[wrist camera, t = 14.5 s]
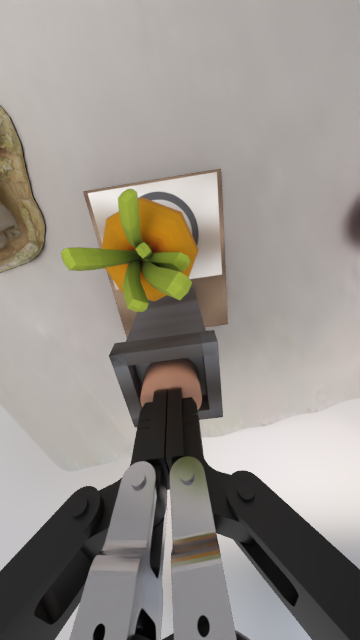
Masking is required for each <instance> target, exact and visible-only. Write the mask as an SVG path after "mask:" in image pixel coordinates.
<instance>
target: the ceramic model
mask: <svg viewBox="0 0 360 640" xmlns="http://www.w3.org/2000/svg"><path fill="white" fill-rule="evenodd" d="M30 188H31V187H30V183H29V180H28V176H27V173H26V168H25V163H24V159H23V152H22V148H21V144H20V141H19V138H18V136H17V134H16V132H15V129H14V127H13V125H12V122H11V120H10V118H9V116H8V115H7V114H6V113H5V111H4V110H3V108H1V107H0V273H1V272H3V271H6V270H8V269H10V268H14V267H17V266H20V265H23V264H26V263H29V262H30V261H31V260H32V259H33V258H35V257H36V256H37V255H38V254H39V253H40V251H41V249H42V247H43V243H44V234H45V225H44V220H43V217H42V214H41V212H40V210H39V208H38V206H37V204H36V203H35V201H34V199H33V196H32V193H31V189H30Z"/></svg>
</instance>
